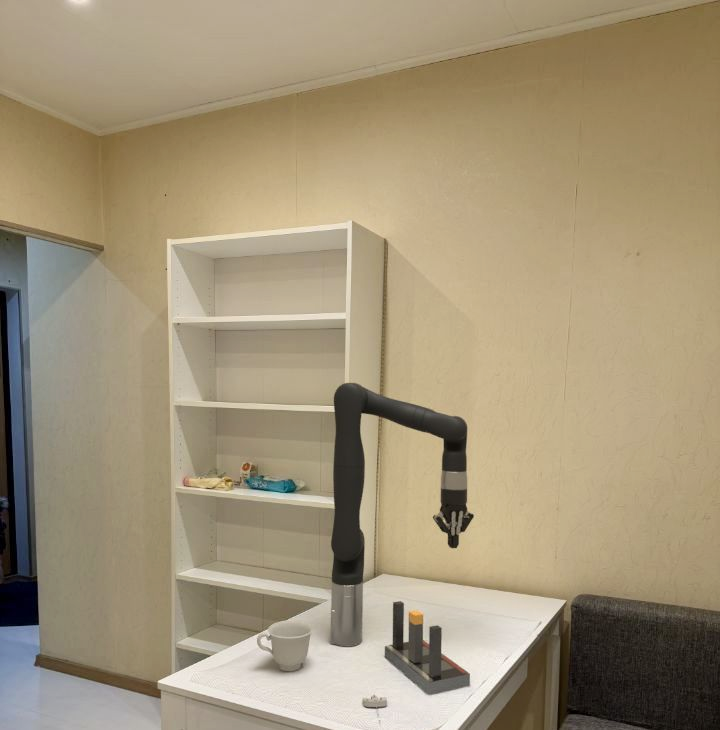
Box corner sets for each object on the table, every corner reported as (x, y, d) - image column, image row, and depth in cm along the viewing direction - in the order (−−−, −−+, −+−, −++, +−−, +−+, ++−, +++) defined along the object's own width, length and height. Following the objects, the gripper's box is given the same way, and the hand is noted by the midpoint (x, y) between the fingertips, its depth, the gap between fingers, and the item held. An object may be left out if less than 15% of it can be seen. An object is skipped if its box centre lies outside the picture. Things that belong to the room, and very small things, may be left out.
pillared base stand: (428, 695, 152) (429, 632, 152) (384, 657, 173) (385, 601, 173) (469, 685, 157) (470, 624, 158) (422, 650, 178) (422, 596, 178)
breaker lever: (414, 663, 162) (414, 615, 162) (408, 658, 165) (408, 611, 165) (422, 661, 163) (423, 614, 163) (416, 656, 166) (416, 610, 166)
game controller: (381, 698, 151) (381, 687, 151) (403, 723, 140) (403, 711, 140) (359, 702, 149) (359, 691, 149) (380, 727, 138) (380, 715, 138)
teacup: (252, 661, 169) (252, 624, 169) (305, 654, 174) (306, 617, 174) (261, 681, 157) (262, 641, 158) (318, 673, 163) (318, 634, 163)
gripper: (465, 483, 186) (464, 542, 185) (427, 485, 180) (426, 546, 179) (480, 487, 179) (480, 548, 178) (441, 489, 173) (440, 553, 173)
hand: (453, 547), depth 179 cm, fingers closed
